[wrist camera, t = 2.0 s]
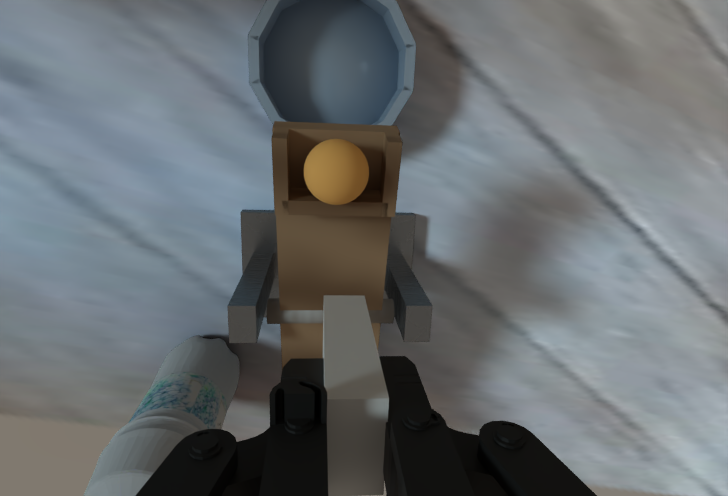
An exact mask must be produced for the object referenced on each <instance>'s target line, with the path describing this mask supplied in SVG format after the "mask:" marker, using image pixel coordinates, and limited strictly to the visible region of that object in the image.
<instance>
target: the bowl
mask: <svg viewBox="0 0 728 496" xmlns="http://www.w3.org/2000/svg"><path fill="white" fill-rule="evenodd" d="M395 1H396V0H266V2H265V4H264V6H263V8H262V9H261V11H260V13H259V15H258V17H257V19H256V21H255V23H254V25H253V26H252V28H251V30H250V32H249V34H248V35H249V36H248V59H249V83H250V86H251V88H252V89H253V91H254V93H255V95H256V96H257V98H258V100H259V102H260V103H261V105H262V107H263V109H264V111H265V112H266V114H267V116H268V118H269V119H270V121H271V123H272V124H273V125H274V121H284V122H310V123H336V124H363V125H389V126H392V124H393V123H394V121H395V120H396V118H397V116H398V115H399V113H400V111H401V110H402V108H403V107H404V105H405V103H406V102H407V100H408V99H409V97H410V95H411V94H412V92H413V86H414V70H415V54H416V45H415V44H416V43H415V41H414V39H413V36H412V34H411V32H410V30H409V28H408V25H407V23H406V21H405V19H404V16H403V14H402V12H401V10H400V7H399V5H398V3H397V1H396V2H395Z"/></svg>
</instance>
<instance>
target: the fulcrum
mask: <svg viewBox="0 0 728 496" xmlns="http://www.w3.org/2000/svg"><path fill="white" fill-rule="evenodd" d="M414 228H415V215H414V214H413V213H395V217H391V225H390V235H389V245H388V255H387V265H386V275H385V285H384V294H383V299H393V301H394V317H395V319H396V321H397V324H398V327H399V329H400V332H401V335H402V337H403V340H404V342H429V340H430V328H431V316H432V304H431V303H430V301H429V299H428V298H427V296H426V294H425V292H424V291H423V289H422V287H421V286H420V284H419V282H418V280H417V279H416V277H415V275H414V274H413V272H412V257H413V243H414ZM241 238H242V267H243V275H242V277H241V279H240V281H239V283H238V285H237V287H236V290H235V292H234V294H233V296H232V298H231V300H230V302H229V304H228V325H229V343H257V339H258V336H259V332H260V328H261V325H262V321H263V318H264V317H267V301H268V298H279V277H278V252H277V227H276V215H275V210H242V211H241Z"/></svg>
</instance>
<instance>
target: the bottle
mask: <svg viewBox="0 0 728 496" xmlns="http://www.w3.org/2000/svg"><path fill="white" fill-rule="evenodd" d="M239 371H240V363H239V359H238V357H237V355H236V354H235V353H232V352H231V351H230V349H229V348H228V347H227V346H226V343H225V341H224V340H222V339H220V338H216V339H205V338H203V337H201V336H200V335H197V336H193V337H191V338H189V339H187V340H186V341H185V342H183V343H181V344H180V345H178V346H177V347H175V348H174V349H173V350H172V351H171V352H170V353H169V354H168V355H167V357H166V359H165V360H164V362H163V364H162V365H161V367H160V369H159V371H158V374H157V376H156V378H155V380H154V382H153V384H152V386H151V388H150V389H149V391H148V392H147V394H146V396H145V397H144V399H143V401H142V402H141V404H140V405H139V407H138V409H137V410H136V412H135V413H134V415H133V417H132V418H131V420H130V421H129V423H128V424H127V425H125V426H124V427H122V428H121V429H120V430H119V431H118V432H117V433H116V434H115V435H114V437H113V438H112V440H111V441H110V443H109V444H108V445H107V446H106V448H105V449H104V450H103V452H102V453H101V455H100V457H99V459H98V462H97V465H96V468H95V471H94V473H93V475H92V477H91V480H90V482H89V484H88V486H87V489H86V491H85V493H84V496H136V494H137V493H138V492H139V491H140V489H141V488H142V487H143V486H144V484H145V483H146V482H147V481H148V480H149V478H150V477H151V476H152V475H153V473H154V472H155V471H156V470H157V468H158V467H159V466H160V465H161V463H162V462H163V461H164V460H165V458H166V457H167V456H168V455H169V454H170V452H171V451H172V450H173V449H174V447H175V446H176V445H177V444H178V443H179V442H180V441H181V440H182V439H183V438H185V437H186V436H188V435H190V434H192V433H194V432H197V431H201V430H205V429H222V425H223V422H224V419H225V416H226V412H227V410H228V408H229V405H230V403H231V401H232V399H233V396H234V394H235V391H236V388H237V385H238V381H239Z"/></svg>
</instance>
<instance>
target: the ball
mask: <svg viewBox="0 0 728 496" xmlns="http://www.w3.org/2000/svg"><path fill="white" fill-rule="evenodd" d="M368 178H369V166H368V162H367V160H366V157H365V155H364V154H363V152H362V151H361V150H360V149H359V148H358V147H357V146H356V145H354V144H353V143H351V142H349V141H347V140H343V139H329V140H326V141H323V142H321V143H319V144H318V145H316V146H315V147H314V148H313V149H312V150H311V151H310V153H309V154H308V156H307V158H306V161H305V164H304V179H305V182H306V185H307V187H308V189H309V190H310V192H311V193H312V194H313V195H314V196H315V197H316V198H317V199H319V200H320V201H322V202H325V203H327V204H332V205H341V204H346V203H349V202H351V201H353V200H354V199H356V198H357V197H358V196H359V195H360V194H361V193H362V192H363V190H364V189H365V187H366V185H367V182H368Z"/></svg>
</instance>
